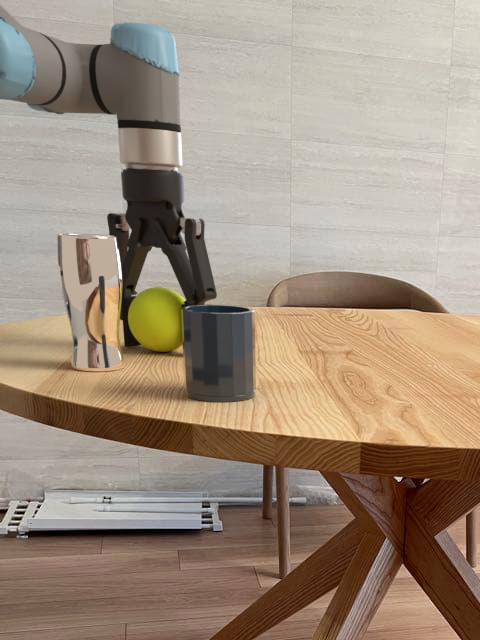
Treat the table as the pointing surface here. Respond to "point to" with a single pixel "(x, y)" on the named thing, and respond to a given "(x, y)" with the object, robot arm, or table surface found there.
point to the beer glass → (92, 298)
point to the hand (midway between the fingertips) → (162, 349)
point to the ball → (157, 319)
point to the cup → (219, 352)
